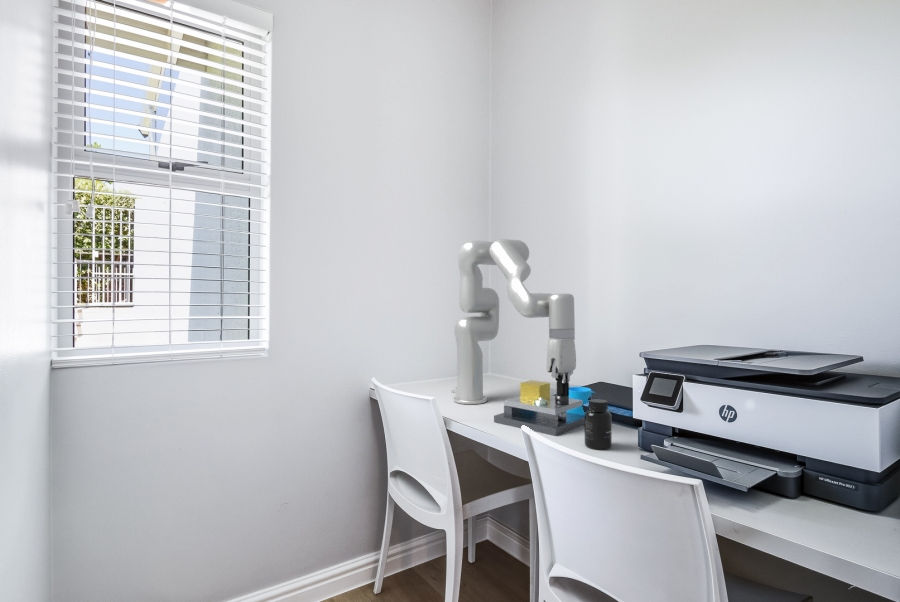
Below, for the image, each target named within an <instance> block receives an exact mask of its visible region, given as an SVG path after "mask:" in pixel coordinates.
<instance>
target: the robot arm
mask: <svg viewBox="0 0 900 602" xmlns="http://www.w3.org/2000/svg"><path fill="white" fill-rule="evenodd" d="M457 255H458V256H457V264H458V271H459V292H458V293H459V297H458V298H459V299H458V300H459V308H460V310H461V311H462V312H464V313H467V314H469V313H470V314H480V315H479V316H478V315H474V316H473V315H472V316H463V317H461V318H459V319H458V320H457V321H456V322H455V324H454V328H453V329H454V331H453V332H454V337H455V341H456V342H455V343H456V353H457V355H456V357H457V358H456V359H457V361H456V362H457V364H456V365H457V367H456V369H457V387H456V386H453V388H452V389H451V390H450V392H451V393H452V394H455V396H454V397H453V402H454V403H456V404H461V405H462V404H463V405H479V404H484V403H486V402H488V397H487V396H485V395H484V367H483V366H484V357H483V356H484V355H483V351H482V350H483V349H482V348H481V346H480V344H479V342H487V341H488V342H489V341H493V340H494V339H495V338H497V335H498V333H499V327H500V326H499V325H500V298H499V294H498V292H496V290H494V289H493V288H490V287H483V273H482V271H481V269H480V268H479V266H478V265H485V266H486V265H487V266H497V267H498V269H499V270H500V271H501V273H502V274H503V275H504V277H505V278H506V280H507V281H508V282H507V285H506V290H507V296H508V299H509V300H510V302H511V304H512V306H513V307H514V308H515V310H517V312H518V313H519V314H520V315H521V316H523V318H527V319H528V318H529V319H535V318H548V334H549V335H548V342H547V349H546V372H547V373H551V374H550V375H551V378H553V379H554V380H555V383H556V394H557V395H558V396H564V397H566V396H569V387H570V381H571V376H572V375H573V374H574V371H575V369H576V367H577V356H576V355H577V353H576V344H575V340H576V332H575V331H576V330H575V325H576V324H575V297H574V295H573V294H572V293H545V292H544V293H543V292H542V293H541V292H535V293H532V292H529V290H528V289H527V288H526V285H525V284H523V282H525V281H526V280H527V279H528V278H529V276H530V275H531V272H532V269H531V266H530V265H529V263H528V262H527V261H528V260H529V258H530V248H529V247H528V245H527V243H525V242H524V241H522V240H518V239H508V238H500V239H496V240H495V241H486V240H470V241H467V242H465V243H463V244H462V246H460V248H459V251H458V254H457Z"/></svg>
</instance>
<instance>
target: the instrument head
mask: <svg viewBox="0 0 900 602" xmlns="http://www.w3.org/2000/svg"><path fill="white" fill-rule="evenodd" d="M519 385H520V386H519V387H520V393H519V394H520V395H518V396H514V397H510V398H507V399H504V406H505V405H506V406H511V407H516V408H521V409H526V410H531V411H537V412H542V413H547V414H552V415H557V414H560V413H563V412H565V411H568V410H571V409H574V408H577V407H580V406H582V405H583V400H578V399H572V398H569V396H566V397H564V396H558V395H557V393H556V394H555V395H553V394H552V395H551V383H550V382H545V381H538V380H528V381H523V382H520V384H519Z"/></svg>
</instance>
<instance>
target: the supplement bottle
mask: <svg viewBox="0 0 900 602" xmlns="http://www.w3.org/2000/svg"><path fill="white" fill-rule="evenodd" d="M608 402H609V401H608V400H606V399H600V398H599V399H595V398H591V400H589V405H588V407H589V410H587V411H586V412H585V424H584V445H585V447H587V448H589V449H592V450H598V451H599V450H600V451H603V450H605V451H606V450H609V449H610V448H612V442H613V441H612V438H613V437H612V434H613V431H612V429H613V428H612V427H613V425H612V421H613V418H612V414H611V412H610V411H609V410H608V408H609V406H608V405H609V403H608Z"/></svg>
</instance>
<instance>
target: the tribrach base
mask: <svg viewBox="0 0 900 602" xmlns="http://www.w3.org/2000/svg"><path fill="white" fill-rule="evenodd" d="M493 422H494V423H497V424H501V425H505V426H509V427H514V428H519V429H521V428H520V427H521V426H522V425H525V426H527V427H529V428H530V429H532V430H534V431H533V432H537V433H540V434H545V435H550V436H554V437H556V436H559V435H561V434H564V433H567V432H569V431H570V430H571V431H572V430H573V429H576V428H578V427H581V426H583V425H585V416H584V415H579V414H573V413H568V412H566V411H565V412H563V413H560V414H557V415H552V414H547V413H542V412H537V411H531V410H526V409H521V408H516V407H511V406H506V405H505V404H504V405H503V412H500V413H498V414H495V415H493Z"/></svg>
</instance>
